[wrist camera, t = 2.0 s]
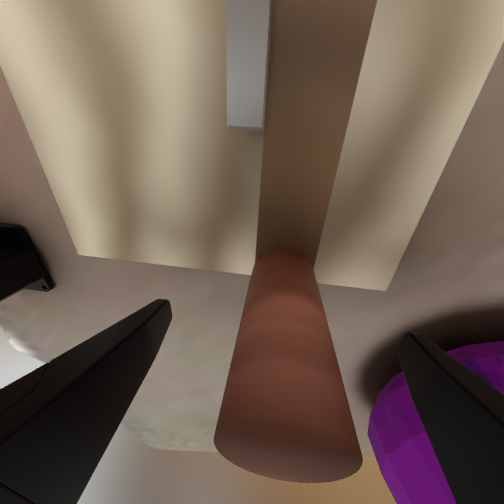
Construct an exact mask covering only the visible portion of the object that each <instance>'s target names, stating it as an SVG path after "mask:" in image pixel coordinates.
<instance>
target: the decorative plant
mask: <svg viewBox="0 0 504 504" xmlns="http://www.w3.org/2000/svg"><path fill="white" fill-rule="evenodd" d="M446 353H448V354H449V355H450V356H452V357H453V358H455V359H456V360H457V361H459V362H460V363H461V364H463V365H464V366H466V367H467V368H468V369H470V370H471V371H472V372H474V373H475V374H476V375H478V376H479V377H481V378H482V379H483V380H485V381H486V382H487V383H489V384H490V385H492V386H493V387H494V388H496V389H497V390H498V391H500V392H501V393H503V394H504V341H498V342H489V343H480V344H471V345H467V346H464V347H460V348H457V349H454V350H450V351H447V352H446ZM368 436H369V439H370V442H371V445H372V448H373V451H374V454H375V456H376V459H377V462H378V465H379V468H380V471H381V474H382V476H383V478H384V480H385V482H386V484H387V485H388V487H389V489H390V491H391V493H392V495H393V497H394V499H395V501H396V503H397V504H456V502H455V500H454V497H453V495H452V492H451V490H450V488H449V485H448V483H447V481H446V478H445V476H444V474H443V471H442V469H441V467H440V464H439V462H438V459H437V457H436V455H435V452H434V450H433V448H432V445H431V443H430V441H429V438H428V436H427V434H426V431H425V429H424V426H423V424H422V422H421V419H420V417H419V415H418V412H417V410H416V408H415V405H414V403H413V400H412V398H411V395H410V392H409V389H408V386H407V383H406V380H405V376H404V373H403V371H401V372H400V373H398V374H396V375H395V376H394V377H393V378H392V379H391V380H390V381H389V382H388V383H387V385H386V386H385V387H384V388H383V389H382V390H381V391H380V393H379V394H378V397H377V399H376V401H375V404H374V406H373V409H372V411H371V413H370V419H369V427H368Z"/></svg>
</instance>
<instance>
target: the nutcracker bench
mask: <svg viewBox="0 0 504 504" xmlns="http://www.w3.org/2000/svg"><path fill="white" fill-rule="evenodd" d="M503 42H504V0H377V4H376V8H375V12H374V16H373V21H372V25H371V29H370V33H369V37H368V42H367V46H366V50H365V54H364V59H363V63H362V67H361V71H360V75H359V80H358V84H357V88H356V92H355V97H354V101H353V105H352V109H351V113H350V118H349V122H348V126H347V130H346V135H345V139H344V143H343V147H342V152H341V156H340V160H339V164H338V168H337V173H336V177H335V181H334V185H333V190H332V194H331V198H330V202H329V206H328V211H327V215H326V219H325V223H324V228H323V232H322V236H321V240H320V244H319V249H318V253H317V257H316V261H315V266H314V273H315V277H316V281H317V283H321V284H330V285H338V286H347V287H355V288H363V289H372V290H380V291H386V290H387V288H388V286H389V284H390V282H391V280H392V278H393V275H394V273H395V271H396V269H397V267H398V265H399V263H400V261H401V258H402V256H403V254H404V252H405V250H406V248H407V246H408V244H409V241H410V239H411V237H412V235H413V233H414V231H415V229H416V227H417V224H418V222H419V220H420V218H421V216H422V214H423V212H424V210H425V208H426V205H427V203H428V201H429V199H430V197H431V195H432V193H433V191H434V188H435V186H436V184H437V182H438V180H439V178H440V176H441V174H442V171H443V169H444V167H445V165H446V163H447V161H448V159H449V157H450V154H451V152H452V150H453V148H454V146H455V144H456V142H457V140H458V138H459V135H460V133H461V131H462V129H463V127H464V125H465V123H466V121H467V118H468V116H469V114H470V112H471V110H472V108H473V106H474V104H475V101H476V99H477V97H478V95H479V93H480V91H481V89H482V87H483V84H484V82H485V80H486V78H487V76H488V74H489V72H490V70H491V67H492V65H493V63H494V61H495V59H496V57H497V55H498V53H499V51H500V48H501V46H502V44H503ZM0 66H1V68H2V71H3V73H4V75H5V78H6V80H7V83H8V85H9V88H10V90H11V92H12V95H13V97H14V100H15V102H16V104H17V107H18V109H19V112H20V114H21V117H22V119H23V121H24V124H25V126H26V129H27V131H28V134H29V136H30V138H31V141H32V143H33V146H34V148H35V150H36V153H37V155H38V158H39V160H40V163H41V165H42V167H43V170H44V172H45V175H46V177H47V180H48V182H49V184H50V187H51V189H52V192H53V194H54V196H55V199H56V201H57V204H58V206H59V209H60V211H61V213H62V216H63V218H64V221H65V223H66V226H67V228H68V230H69V233H70V235H71V238H72V240H73V242H74V245H75V247H76V250H77V252H78V255H84V256H92V257H101V258H109V259H118V260H126V261H135V262H143V263H152V264H160V265H169V266H177V267H185V268H194V269H202V270H211V271H219V272H228V273H236V274H245V275H252V270H253V267H254V264H255V255H256V241H257V226H258V212H259V197H260V183H261V168H262V154H263V139H264V132H246V131H240V130H237V129H234V128H232V127H229V126H227V51H226V0H0Z"/></svg>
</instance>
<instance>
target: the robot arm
mask: <svg viewBox="0 0 504 504" xmlns="http://www.w3.org/2000/svg"><path fill="white" fill-rule="evenodd" d="M53 288H54V286H53V284H52V282H51V280H50V278H49V276H48V274H47V272H46V270H45V269H44V267H43V265H42V263H41V261H40V259H39V257H38V255H37V253H36V251H35V250H34V248H33V246H32V244H31V242H30V240H29V238H28V236H27V234H26V232H25V231H24V229H23V228H21V227H20V226H17V225H9V224H0V301H2V300H4V299H6V298H8V297H9V296H11V295H13V294H15V293H17V292H18V291H20V290H22V289H31V290H38V291H45V292H48V291H50V290H52V289H53ZM171 320H172V311H171V306H170V301H169V300H166V299H157V300H155V301H153V302H152V303H150V304H148V305H147V306H145V307H143V308H141V309H140V310H138V311H136V312H134V313H133V314H131V315H129V316H128V317H126V318H124V319H122V320H121V321H119V322H117V323H115V324H114V325H112V326H110V327H108V328H107V329H105V330H103V331H102V332H100V333H98V334H96V335H95V336H93V337H91V338H89V339H88V340H86V341H84V342H82V343H81V344H79V345H77V346H76V347H74V348H72V349H70V350H69V351H67V352H65V353H63V354H62V355H60V356H58V357H56V358H55V359H53V360H51V361H50V363H46V364H44V365H43V366H41V367H39V368H37V369H36V370H34V371H32V372H31V373H29V374H27V375H25V376H23V377H21V378H20V379H18V380H16V381H14V382H13V383H11V384H9V385H7V386H5V387H4V388H2V389H0V504H77V502H78V500H79V498H80V496H81V495H82V493H83V491H84V489H85V487H86V485H87V484H88V482H89V480H90V478H91V476H92V474H93V472H94V471H95V469H96V467H97V465H98V463H99V461H100V459H101V458H102V456H103V454H104V452H105V450H106V448H107V446H108V445H109V443H110V441H111V439H112V437H113V436H114V434H115V432H116V430H117V428H118V426H119V424H120V423H121V421H122V419H123V417H124V415H125V413H126V411H127V410H128V408H129V406H130V404H131V402H132V400H133V399H134V397H135V395H136V393H137V391H138V389H139V387H140V386H141V384H142V382H143V380H144V378H145V376H146V375H147V373H148V371H149V369H150V367H151V365H152V363H153V361H154V360H155V358H156V355H157V353H158V351H159V349H160V346H161V344H162V341H163V339H164V337H165V334H166V332H167V329H168V327H169V325H170V322H171ZM397 355H398V358H399V361H400V364H401V367H402V370H403V373H404V376H405V380H406V383H407V386H408V389H409V392H410V395H411V398H412V400H413V403H414V405H415V408H416V410H417V412H418V415H419V417H420V419H421V422H422V424H423V426H424V429H425V431H426V434H427V436H428V438H429V441H430V443H431V445H432V448H433V450H434V452H435V455H436V457H437V459H438V462H439V464H440V467H441V469H442V471H443V474H444V476H445V478H446V481H447V483H448V485H449V488H450V490H451V492H452V495H453V497H454V500H455V502H456V504H504V394H503V393H501V392H500V391H498V390H497V389H496V388H494V387H493V386H492V385H490V384H489V383H487V382H486V381H485V380H483V379H482V378H481V377H479V376H478V375H476V374H475V373H474V372H472V371H471V370H470V369H468V368H467V367H466V366H464V365H463V364H461V363H460V362H459V361H457V360H456V359H455V358H453V357H452V356H450V355H449V354H448V353H446V352H445V351H444V350H442V349H441V348H439V347H438V346H437V345H435V344H434V343H433V342H431V341H430V340H429V339H427V338H426V337H424V336H423V335H422V334H419V333H414V332H406V333H405V334H404V335H403V337H402V338H401V340H400V342H399V343H398V345H397Z"/></svg>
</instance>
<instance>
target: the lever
mask: <svg viewBox="0 0 504 504" xmlns="http://www.w3.org/2000/svg"><path fill="white" fill-rule="evenodd" d="M376 4H377V0H226V51H227V126H229V127H232V128H234V129H237V130H240V131H246V132H264V139H263V154H262V168H261V183H260V197H259V212H258V226H257V241H256V255H255V264H254V267H253V270H252V275H251V279H250V283H249V288H248V292H247V296H246V301H245V305H244V309H243V314H242V318H241V322H240V327H239V331H238V335H237V340H236V344H235V348H234V353H233V357H232V361H231V365H230V370H229V374H228V378H227V383H226V387H225V391H224V396H223V400H222V404H221V409H220V413H219V417H218V422H217V426H216V430H215V435H214V444H215V447H216V449H217V450H218V451H219V453H221V455H222V456H224V457H225V458H226V459H227V460H229V461H230V462H232V463H233V464H235V465H237V466H239V467H241V468H243V469H245V470H248V471H250V472H253V473H256V474H259V475H262V476H265V477H269V478H273V479H278V480H283V481H291V482H300V483H301V482H302V483H321V482H331V481H336V480H340V479H344V478H346V477H349V476H351V475H352V474H354V473H356V472H357V471H358V470H359V469H360V467H361V466H362V462H363V459H362V454H361V450H360V446H359V442H358V439H357V435H356V431H355V427H354V423H353V419H352V415H351V412H350V408H349V404H348V400H347V396H346V392H345V389H344V385H343V381H342V377H341V373H340V369H339V365H338V362H337V358H336V354H335V350H334V346H333V342H332V338H331V335H330V331H329V327H328V323H327V319H326V315H325V312H324V308H323V304H322V300H321V296H320V292H319V288H318V285H317V281H316V277H315V273H314V266H315V261H316V257H317V253H318V249H319V244H320V240H321V236H322V232H323V228H324V223H325V219H326V215H327V211H328V206H329V202H330V198H331V194H332V190H333V185H334V181H335V177H336V173H337V168H338V164H339V160H340V156H341V152H342V147H343V143H344V139H345V135H346V130H347V126H348V122H349V118H350V113H351V109H352V105H353V101H354V97H355V92H356V88H357V84H358V80H359V75H360V71H361V67H362V63H363V59H364V54H365V50H366V46H367V42H368V37H369V33H370V29H371V25H372V21H373V16H374V12H375V8H376Z"/></svg>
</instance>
